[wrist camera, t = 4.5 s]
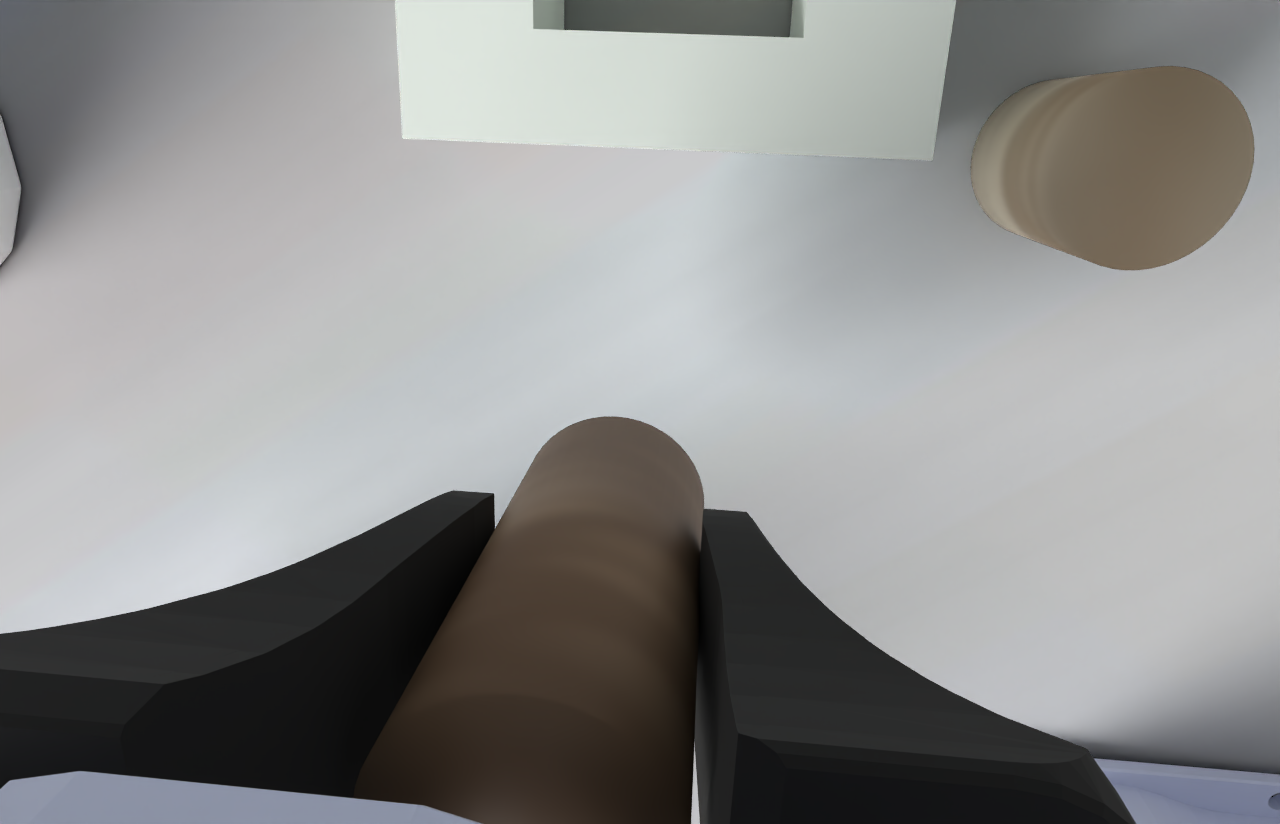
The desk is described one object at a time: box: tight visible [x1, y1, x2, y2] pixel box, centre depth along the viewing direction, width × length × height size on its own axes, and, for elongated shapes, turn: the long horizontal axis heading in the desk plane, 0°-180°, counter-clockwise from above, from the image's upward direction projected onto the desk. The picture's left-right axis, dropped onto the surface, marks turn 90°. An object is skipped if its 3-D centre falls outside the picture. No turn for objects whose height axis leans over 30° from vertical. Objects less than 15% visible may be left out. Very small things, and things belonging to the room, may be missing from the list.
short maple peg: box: [971, 66, 1254, 270], centre depth 15 cm, size 3×3×4 cm
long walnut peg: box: [353, 417, 704, 824], centre depth 11 cm, size 3×3×7 cm
